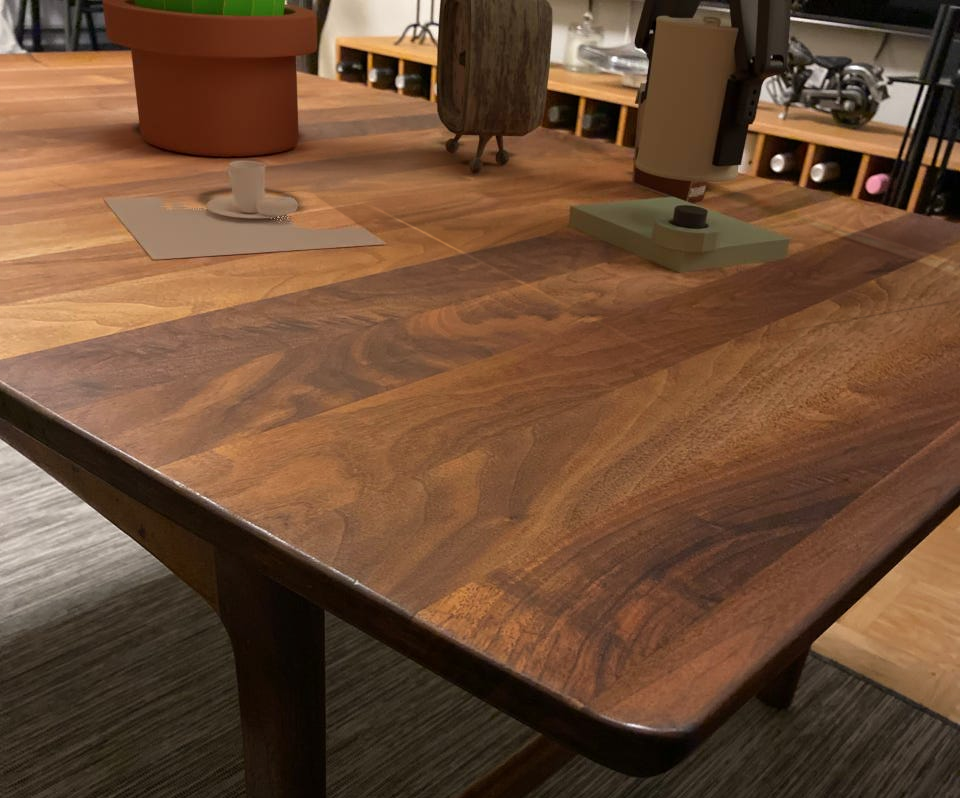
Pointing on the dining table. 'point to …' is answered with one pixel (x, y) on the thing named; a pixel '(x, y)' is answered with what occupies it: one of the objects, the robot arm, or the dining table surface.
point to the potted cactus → (215, 71)
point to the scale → (677, 235)
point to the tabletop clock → (492, 70)
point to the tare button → (689, 217)
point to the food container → (660, 185)
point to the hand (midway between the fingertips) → (689, 153)
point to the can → (687, 98)
